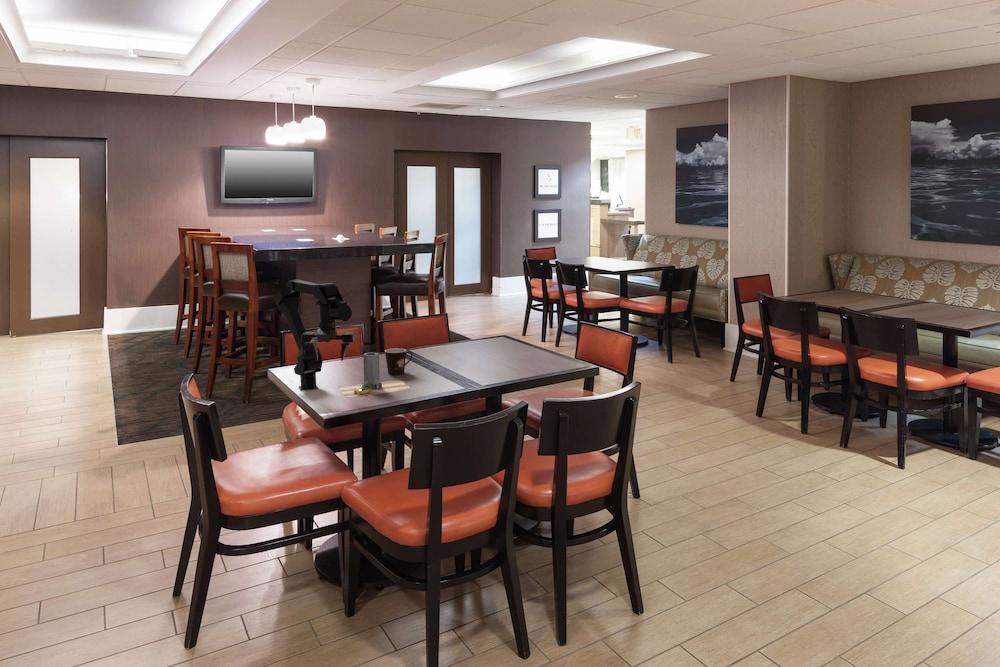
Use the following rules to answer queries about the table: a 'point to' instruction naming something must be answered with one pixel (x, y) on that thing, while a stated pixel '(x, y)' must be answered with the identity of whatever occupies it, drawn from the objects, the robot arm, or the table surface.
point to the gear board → (386, 388)
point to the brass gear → (363, 391)
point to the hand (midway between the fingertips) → (329, 360)
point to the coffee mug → (396, 360)
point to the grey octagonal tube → (371, 371)
